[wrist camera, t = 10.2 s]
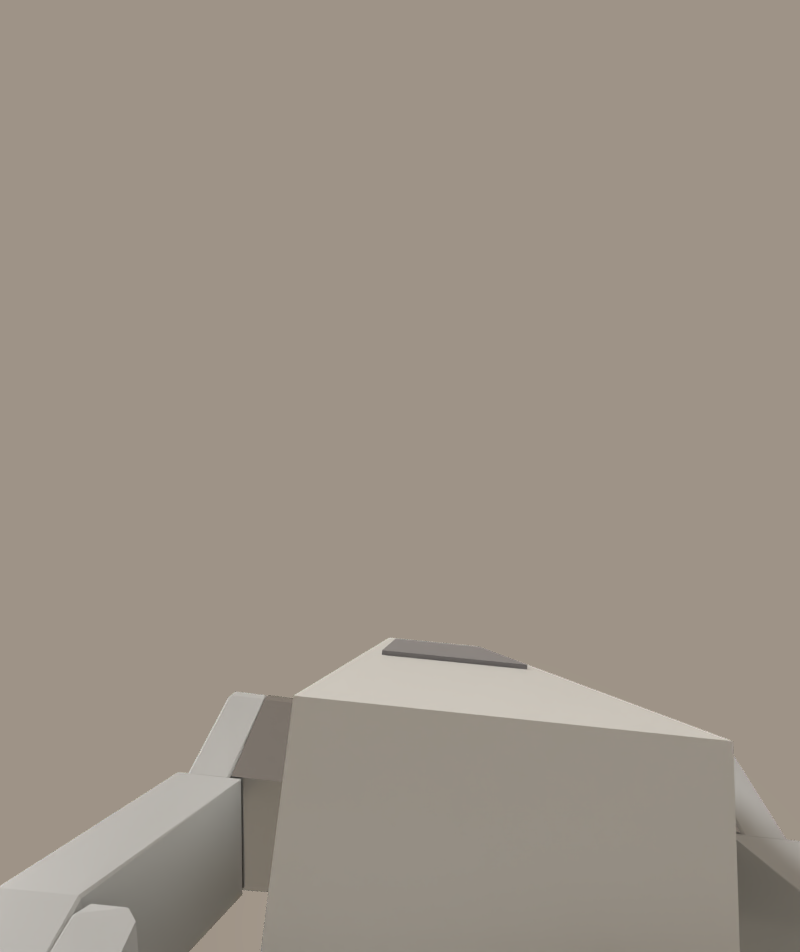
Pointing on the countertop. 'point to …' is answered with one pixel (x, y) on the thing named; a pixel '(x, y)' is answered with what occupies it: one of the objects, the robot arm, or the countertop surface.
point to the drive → (496, 815)
